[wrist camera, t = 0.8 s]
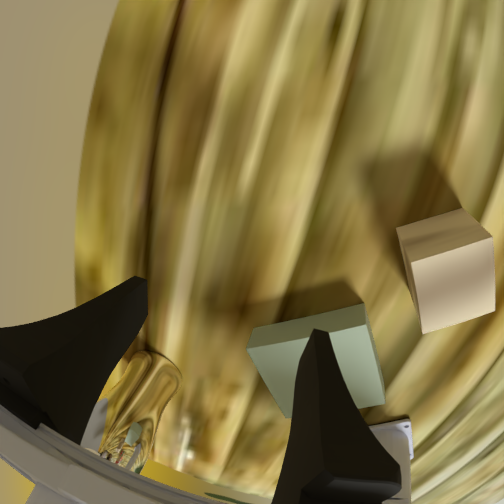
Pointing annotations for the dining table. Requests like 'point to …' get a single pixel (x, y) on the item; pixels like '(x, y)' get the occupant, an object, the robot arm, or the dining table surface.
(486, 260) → the ash cube
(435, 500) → the dining table surface
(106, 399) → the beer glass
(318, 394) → the robot arm
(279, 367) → the green slab
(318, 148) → the dining table surface
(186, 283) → the dining table surface
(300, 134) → the dining table surface
